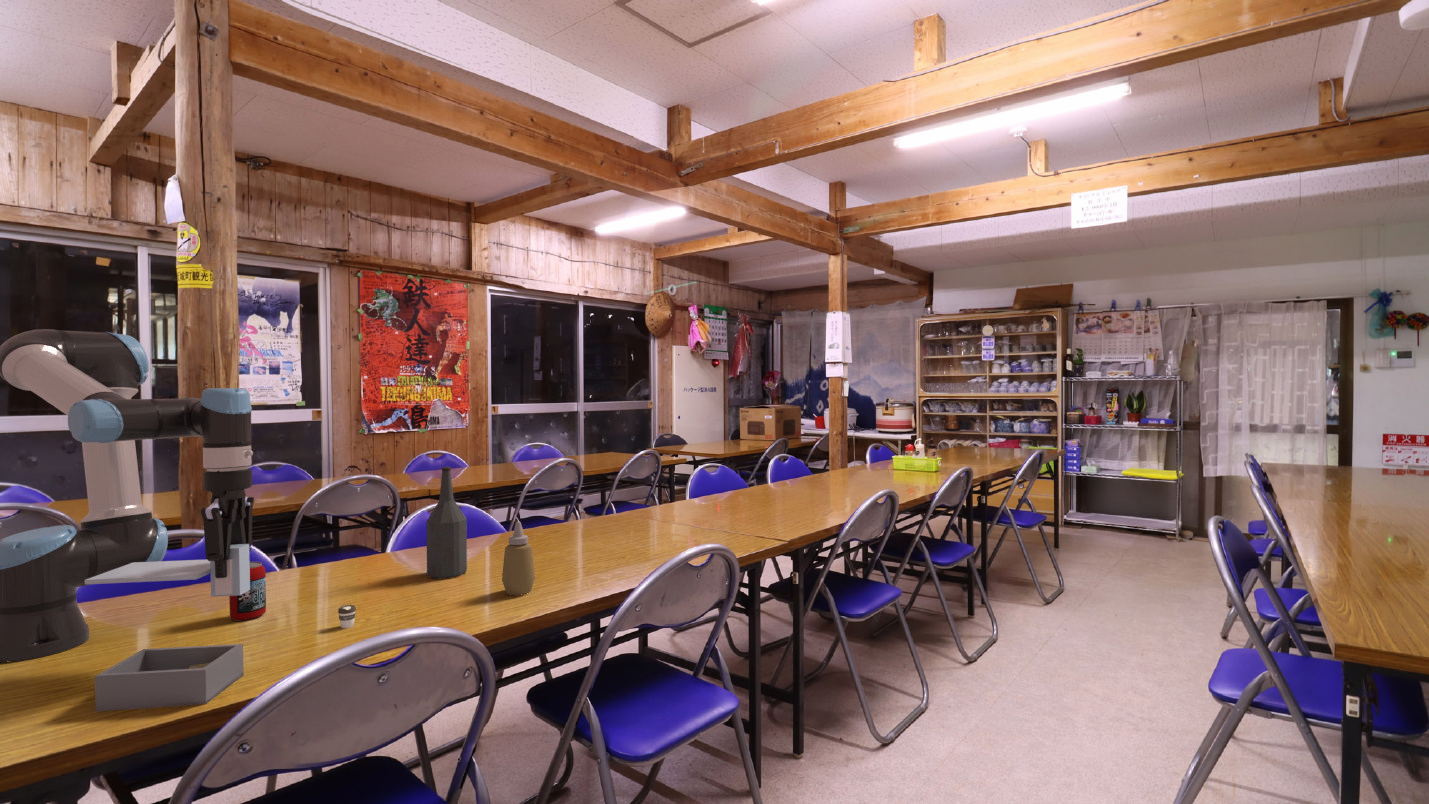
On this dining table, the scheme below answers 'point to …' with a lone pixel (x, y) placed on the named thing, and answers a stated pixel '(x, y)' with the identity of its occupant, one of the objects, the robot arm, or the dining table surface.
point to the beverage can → (251, 596)
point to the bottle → (446, 534)
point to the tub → (169, 677)
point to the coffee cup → (347, 616)
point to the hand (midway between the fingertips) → (230, 590)
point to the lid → (182, 571)
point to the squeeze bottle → (518, 564)
